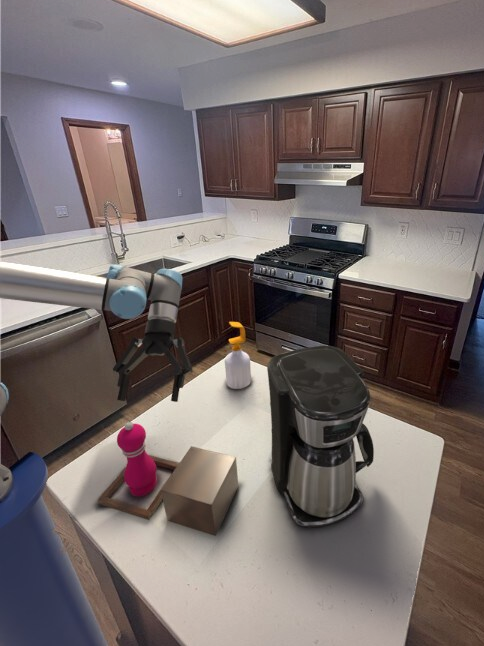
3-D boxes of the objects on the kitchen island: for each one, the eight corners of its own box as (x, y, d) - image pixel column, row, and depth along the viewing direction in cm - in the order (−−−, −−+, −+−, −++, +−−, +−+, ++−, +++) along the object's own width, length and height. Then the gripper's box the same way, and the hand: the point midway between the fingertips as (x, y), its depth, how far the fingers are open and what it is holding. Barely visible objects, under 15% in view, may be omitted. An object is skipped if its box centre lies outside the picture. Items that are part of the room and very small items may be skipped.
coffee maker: (321, 553, 64) (330, 427, 51) (232, 457, 86) (222, 351, 72) (380, 484, 78) (400, 371, 65) (291, 416, 100) (292, 322, 87)
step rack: (98, 504, 73) (87, 473, 69) (139, 456, 86) (132, 428, 82) (213, 541, 66) (209, 509, 62) (240, 482, 78) (237, 453, 75)
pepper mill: (156, 495, 75) (141, 432, 68) (124, 501, 74) (105, 438, 66) (161, 469, 82) (148, 409, 74) (131, 475, 80) (115, 414, 73)
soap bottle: (223, 378, 118) (218, 320, 109) (246, 372, 122) (242, 315, 113) (231, 392, 111) (226, 331, 101) (254, 385, 115) (252, 325, 105)
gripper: (209, 326, 90) (200, 402, 82) (124, 325, 91) (107, 401, 83) (202, 317, 84) (192, 400, 76) (110, 317, 84) (90, 398, 76)
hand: (147, 401), depth 79 cm, fingers open, 13 cm apart
